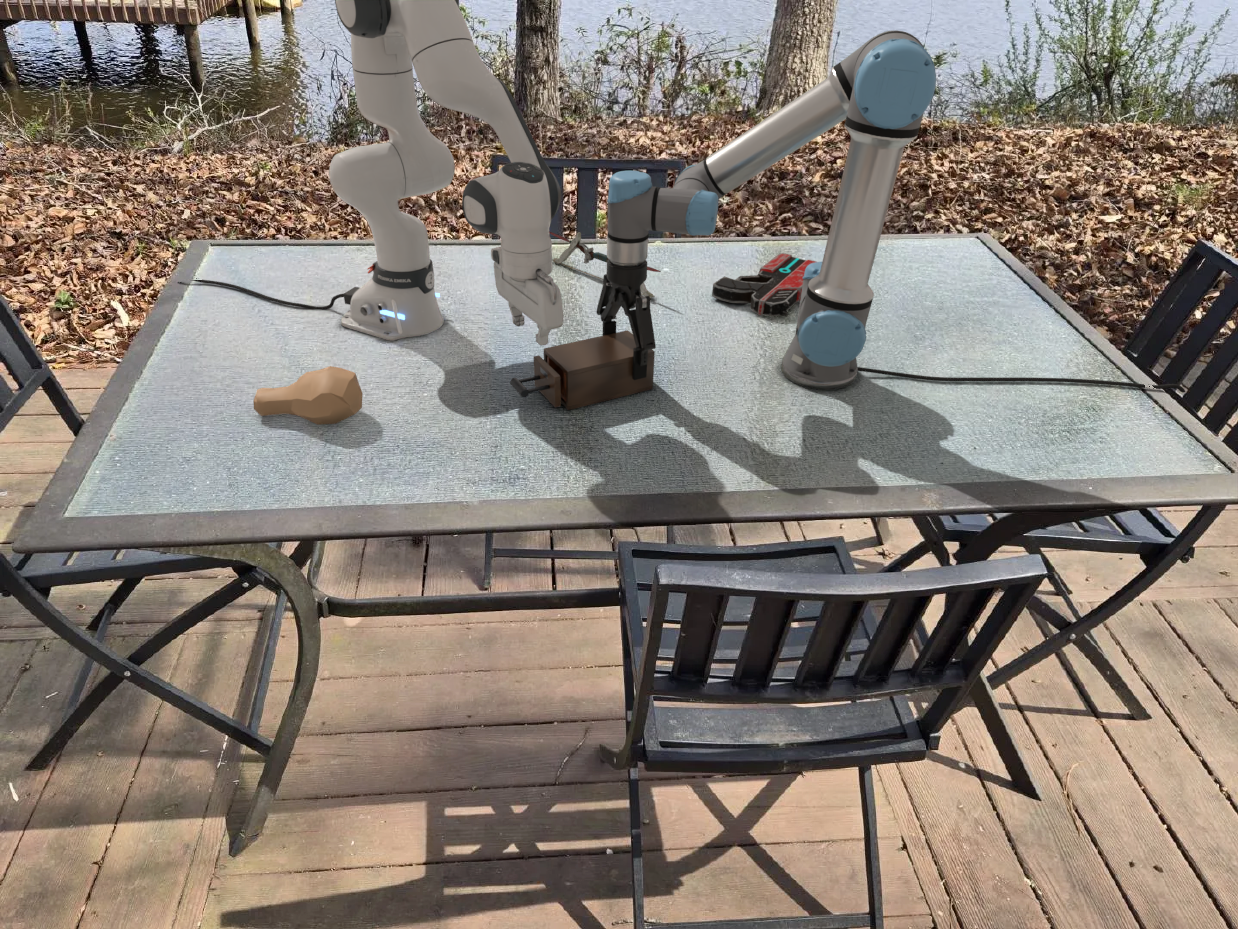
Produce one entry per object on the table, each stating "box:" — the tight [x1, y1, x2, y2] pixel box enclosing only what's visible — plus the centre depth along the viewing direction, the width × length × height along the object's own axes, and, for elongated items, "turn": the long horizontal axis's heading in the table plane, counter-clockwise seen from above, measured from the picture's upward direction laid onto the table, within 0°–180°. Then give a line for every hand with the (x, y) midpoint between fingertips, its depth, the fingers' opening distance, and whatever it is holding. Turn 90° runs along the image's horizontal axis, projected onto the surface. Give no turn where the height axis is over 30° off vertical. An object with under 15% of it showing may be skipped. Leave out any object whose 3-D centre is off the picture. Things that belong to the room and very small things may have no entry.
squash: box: [252, 365, 363, 426], centre depth 159 cm, size 11×20×9 cm, turn 90°
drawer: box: [509, 355, 566, 408], centre depth 168 cm, size 24×10×6 cm, turn 119°
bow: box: [549, 231, 662, 300], centre depth 217 cm, size 39×2×10 cm, turn 47°
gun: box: [711, 252, 817, 318], centre depth 215 cm, size 4×31×19 cm
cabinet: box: [543, 330, 656, 411], centre depth 171 cm, size 19×11×8 cm, turn 119°
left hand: (530, 334), depth 161 cm, fingers open, 8 cm apart
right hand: (623, 364), depth 173 cm, fingers open, 12 cm apart
